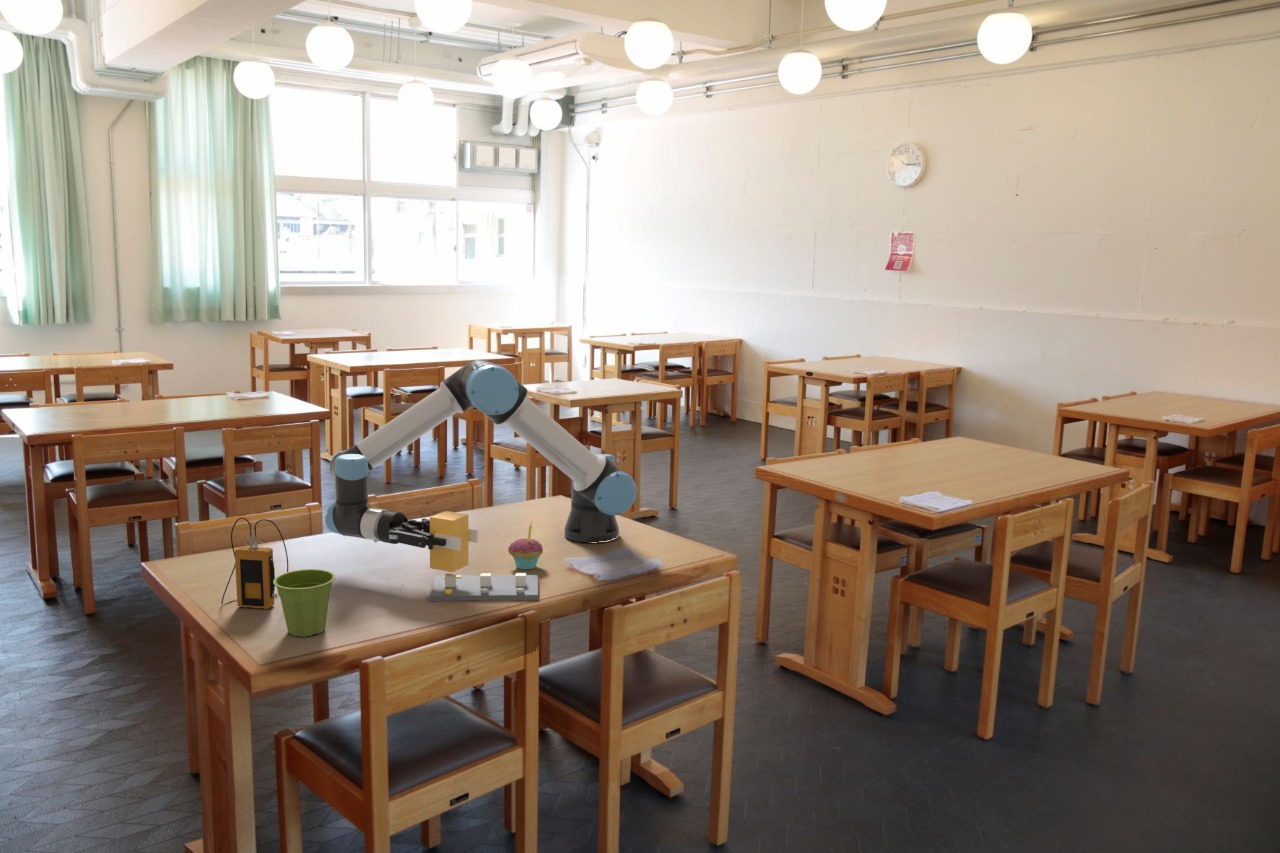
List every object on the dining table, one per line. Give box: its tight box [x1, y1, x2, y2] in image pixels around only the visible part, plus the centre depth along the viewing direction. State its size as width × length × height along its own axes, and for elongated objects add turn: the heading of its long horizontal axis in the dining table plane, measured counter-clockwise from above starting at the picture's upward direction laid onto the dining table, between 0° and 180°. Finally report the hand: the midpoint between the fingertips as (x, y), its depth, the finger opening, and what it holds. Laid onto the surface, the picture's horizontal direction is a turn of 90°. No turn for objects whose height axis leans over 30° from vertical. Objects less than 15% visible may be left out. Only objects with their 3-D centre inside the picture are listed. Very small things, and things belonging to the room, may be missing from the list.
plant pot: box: [273, 568, 336, 638], centre depth 201 cm, size 12×12×11 cm
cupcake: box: [507, 521, 544, 570], centre depth 245 cm, size 9×8×12 cm
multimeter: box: [220, 517, 289, 610], centre depth 216 cm, size 15×10×20 cm
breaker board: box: [429, 572, 539, 602], centre depth 229 cm, size 24×14×4 cm, turn 96°
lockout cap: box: [429, 510, 469, 573], centre depth 226 cm, size 6×6×12 cm
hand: (468, 540), depth 224 cm, fingers closed on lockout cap, 6 cm apart
